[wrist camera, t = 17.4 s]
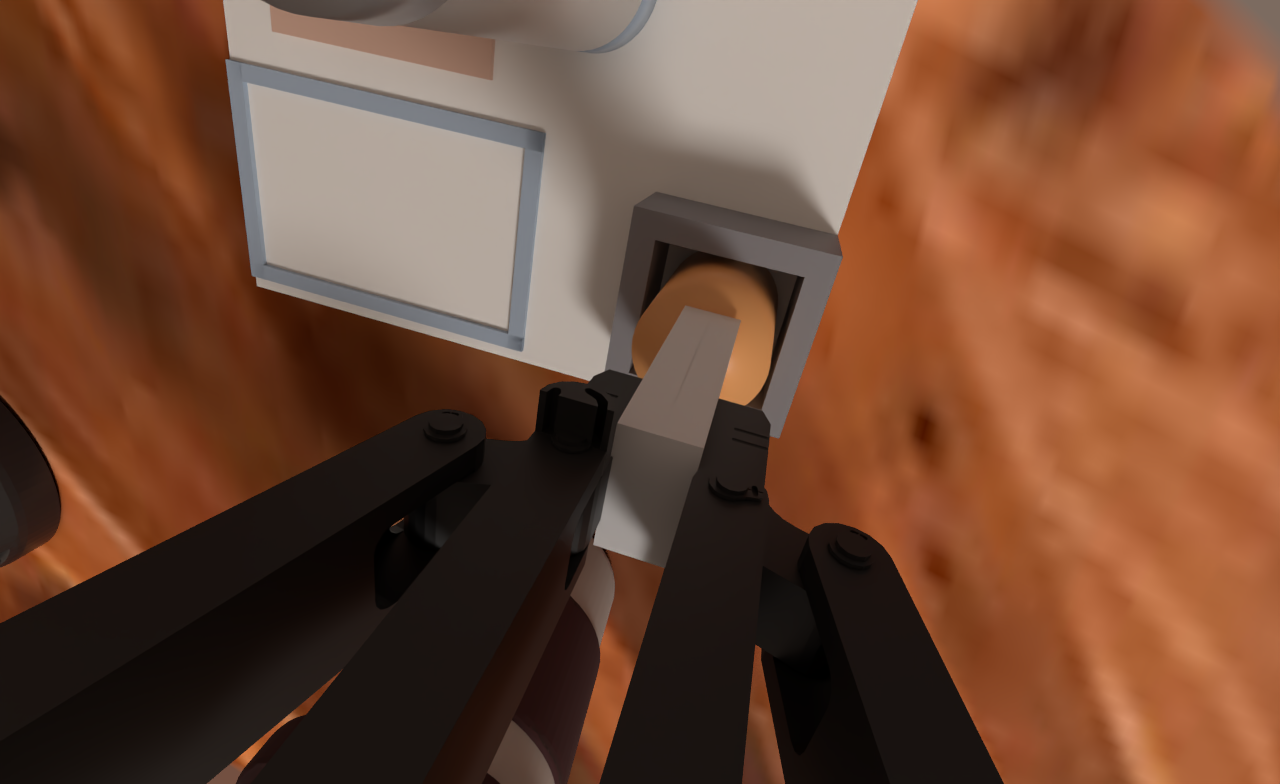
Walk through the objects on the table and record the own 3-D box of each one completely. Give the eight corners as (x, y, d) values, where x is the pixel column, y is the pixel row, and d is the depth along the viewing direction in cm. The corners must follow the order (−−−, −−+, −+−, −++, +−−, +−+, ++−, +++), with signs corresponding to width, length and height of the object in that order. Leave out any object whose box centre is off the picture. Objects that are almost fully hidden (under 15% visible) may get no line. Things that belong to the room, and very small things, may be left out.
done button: (657, 337, 22) (621, 397, 18) (680, 233, 20) (645, 271, 16) (760, 365, 21) (748, 433, 17) (792, 261, 20) (789, 308, 15)
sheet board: (271, 280, 26) (194, 307, 23) (219, -212, 19) (93, -278, 15) (771, 422, 23) (766, 476, 20) (944, -90, 16) (981, -139, 13)
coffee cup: (509, 440, 27) (228, 767, 14) (686, 569, 28) (580, 996, 15) (423, 562, 32) (154, 891, 19) (576, 670, 32) (421, 1059, 19)
